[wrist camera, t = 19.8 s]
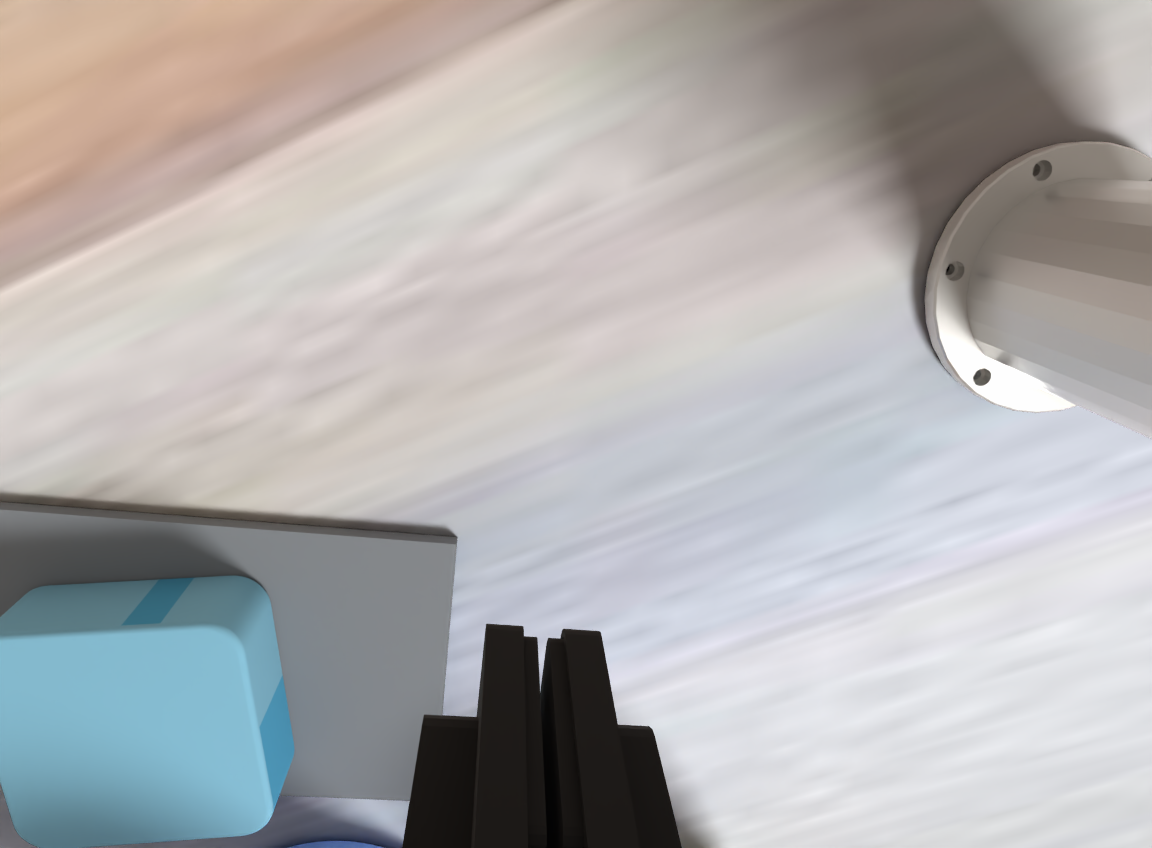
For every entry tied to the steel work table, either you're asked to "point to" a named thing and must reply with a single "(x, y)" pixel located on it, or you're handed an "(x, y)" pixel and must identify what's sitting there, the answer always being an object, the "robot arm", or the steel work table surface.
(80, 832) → the data package
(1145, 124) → the steel work table surface
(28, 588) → the mat
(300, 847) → the water jug
